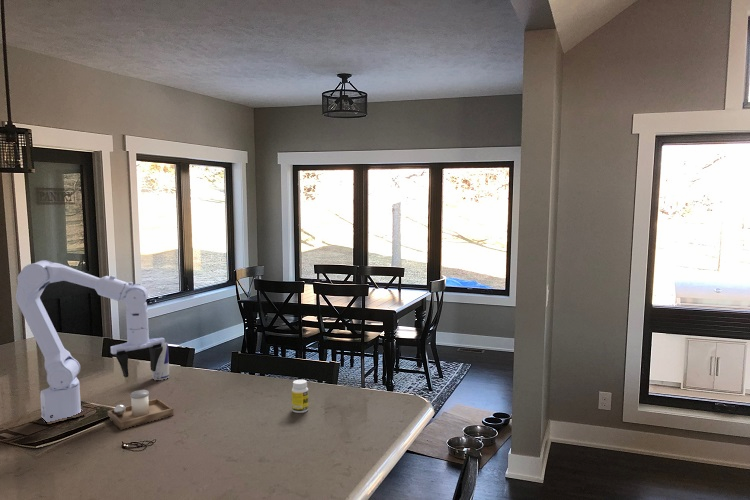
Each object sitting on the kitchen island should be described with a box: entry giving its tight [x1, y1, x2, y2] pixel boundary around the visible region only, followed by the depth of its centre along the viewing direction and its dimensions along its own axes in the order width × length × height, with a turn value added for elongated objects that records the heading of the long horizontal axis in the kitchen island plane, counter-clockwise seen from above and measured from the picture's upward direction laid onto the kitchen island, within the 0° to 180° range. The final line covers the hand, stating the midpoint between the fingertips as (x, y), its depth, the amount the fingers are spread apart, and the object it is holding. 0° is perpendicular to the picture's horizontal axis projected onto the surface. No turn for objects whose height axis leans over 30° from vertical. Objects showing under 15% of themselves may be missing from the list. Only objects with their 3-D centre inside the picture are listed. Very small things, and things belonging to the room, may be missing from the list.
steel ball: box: [113, 404, 126, 416], centre depth 150 cm, size 3×3×3 cm
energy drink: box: [151, 341, 170, 381], centre depth 183 cm, size 5×5×12 cm
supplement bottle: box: [291, 379, 310, 414], centre depth 154 cm, size 5×5×8 cm
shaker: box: [130, 389, 150, 417], centre depth 151 cm, size 5×5×6 cm
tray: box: [107, 398, 175, 431], centre depth 151 cm, size 14×11×2 cm
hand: (139, 373), depth 156 cm, fingers open, 7 cm apart
